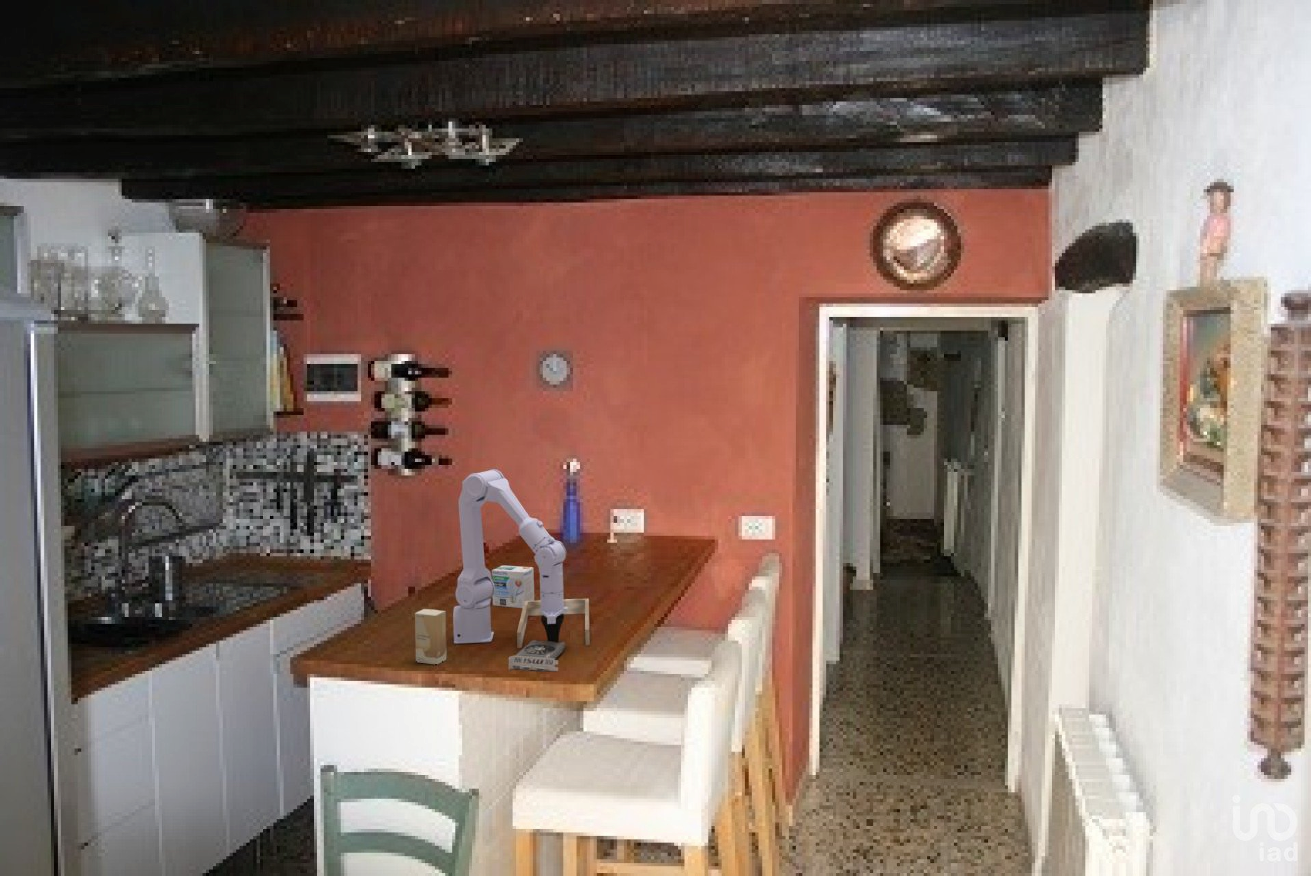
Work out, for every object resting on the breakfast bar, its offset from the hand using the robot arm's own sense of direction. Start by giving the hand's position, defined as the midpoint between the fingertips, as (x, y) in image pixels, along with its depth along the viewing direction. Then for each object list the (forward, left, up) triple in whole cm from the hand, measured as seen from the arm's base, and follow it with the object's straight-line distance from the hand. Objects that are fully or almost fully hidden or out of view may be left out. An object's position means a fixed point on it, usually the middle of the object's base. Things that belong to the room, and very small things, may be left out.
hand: (553, 644), depth 244 cm
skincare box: (-29, -6, -1) cm, 30 cm away
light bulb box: (-13, +45, -1) cm, 46 cm away
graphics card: (-2, -9, -2) cm, 10 cm away
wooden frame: (0, +17, -1) cm, 17 cm away
